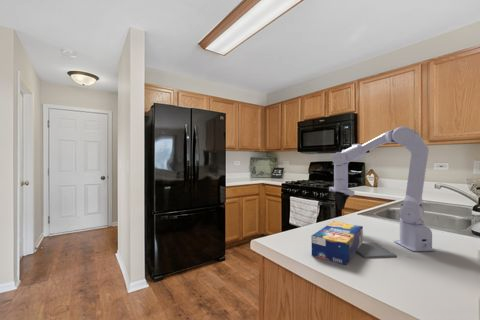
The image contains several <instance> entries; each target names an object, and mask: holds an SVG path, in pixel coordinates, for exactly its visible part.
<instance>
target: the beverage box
mask: <svg viewBox="0 0 480 320" xmlns="http://www.w3.org/2000/svg"><path fill="white" fill-rule="evenodd" d="M363 235H364V226H363V225H356V224H351V223H344V222H341V221H339V222H338V221H331V223H329V224H327V225H326V226H324V227H322V228H321V229H320V230H318V231H317V232H315V233H313V234H312V235H311V257H315V258H318V259H322V260H326V261H330V262H333V263H336V264H340V265H344V266H347V265H348V263H349V262H350V261H351V259H352V258H353V257H354V256H355V255H356V253H357V252H356V250H357V249H358V248H359V246H360V245H361V244H362V243H364V241H363V239H364V236H363Z"/></svg>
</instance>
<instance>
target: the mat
mask: <svg viewBox="0 0 480 320" xmlns="http://www.w3.org/2000/svg"><path fill="white" fill-rule="evenodd" d="M356 253H357V254H358V255H360V256H362V258H364V259H375V258H376V259H378V258H380V259H381V258H397V257H398V255H397V254H396V253H394V252H392V251H390V250H389V249H387V248H385V247H383V246H382V245H380V244H378V243H377V242H363V243H362V244H361V245H360V246H359V248H358V249H357V250H356Z"/></svg>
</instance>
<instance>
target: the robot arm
mask: <svg viewBox="0 0 480 320" xmlns="http://www.w3.org/2000/svg"><path fill="white" fill-rule="evenodd" d="M385 144H398V145H401V146H403V147H404V148H405V149H406V150H407V151H408V152H410V153H411V155H410V162H409V169H408V175H407V176H408V177H407V183H406V189H405V190H406V191H405V195H404V199H403V203H402V206H401V207H400V208H399V210H398V215H399V239H398V240H397V239H394V240H393V242H394V243H396V244H397V245H400V246H402V247H403V248H406V249H408V250H410V251H412V252H432V251H433V252H434V251H435V249H434V248H433V231H432V230H431V229H430V227H428V226H427V225H426V224H425V220H423V218H422V217H423V215H425V209H424V207H423V192H424V185H425V179H426V172H427V164H428V156H429V147H428V145H427V143H426V142H425V141H424V139H423V138H422V135H421V134H420V133H418V132H417V131H416V130H415V129H413V128H410V127H408V126H405V125H404V126H403V125H402V126H397V127H396V128H395V129H391V130H388V131H386V132H384V133H382V134H380V135H378V136H377V137H374V138H373V139H371V140H369V141H367V142H365V143H363V144H360V143H353V144H351V146H350V147H348V148H346V149H342V150H341V152H340V151H338V152H337V151H336V153H334V154H333V155H332V156H331V161H332V163H333V186H328V191H329V192H334V193H332V196H333V198H334V200H335V203H336V205H337V207H336V208H337V210H341V211H342V210H344V209H345V206H346V203H347V201H348V199H349V197H350V196H351V197H352V196H355V190H352V189H350V188H349V164H350V162H354V161H355V160H358V159H360V158H362V157H364V156H365V155H366V153H367V152H369V151H371V150H373V149H375V148H378V147H380V146H383V145H385Z"/></svg>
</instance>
